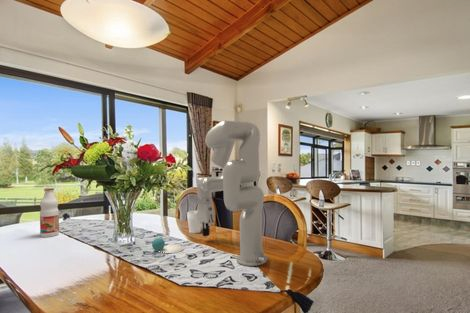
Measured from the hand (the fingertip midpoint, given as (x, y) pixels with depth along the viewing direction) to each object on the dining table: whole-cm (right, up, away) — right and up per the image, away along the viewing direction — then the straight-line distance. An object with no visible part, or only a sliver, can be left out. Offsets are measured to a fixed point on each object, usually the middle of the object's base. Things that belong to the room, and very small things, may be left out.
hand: (206, 235), depth 151 cm
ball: (-22, 0, -14) cm, 25 cm away
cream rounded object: (-16, -3, -12) cm, 20 cm away
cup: (-9, -4, +20) cm, 22 cm away
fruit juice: (-95, -5, +19) cm, 97 cm away
